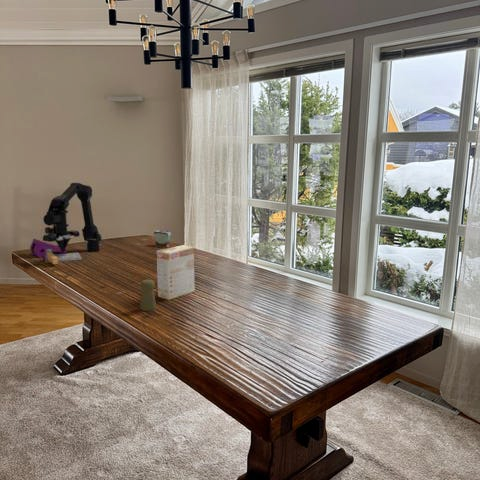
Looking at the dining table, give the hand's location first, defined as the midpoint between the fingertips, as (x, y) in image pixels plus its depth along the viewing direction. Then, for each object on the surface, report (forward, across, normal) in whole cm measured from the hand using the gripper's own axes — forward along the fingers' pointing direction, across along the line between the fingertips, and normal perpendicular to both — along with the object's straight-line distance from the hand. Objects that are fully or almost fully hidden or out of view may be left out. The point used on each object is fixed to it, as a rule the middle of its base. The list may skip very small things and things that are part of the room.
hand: (62, 251), depth 230 cm
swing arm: (+5, +3, -5) cm, 8 cm away
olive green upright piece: (+7, +30, +83) cm, 89 cm away
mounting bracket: (+7, -10, -24) cm, 27 cm away
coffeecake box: (+7, +10, +82) cm, 83 cm away
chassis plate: (+6, -8, -10) cm, 14 cm away
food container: (+6, -62, +18) cm, 65 cm away
